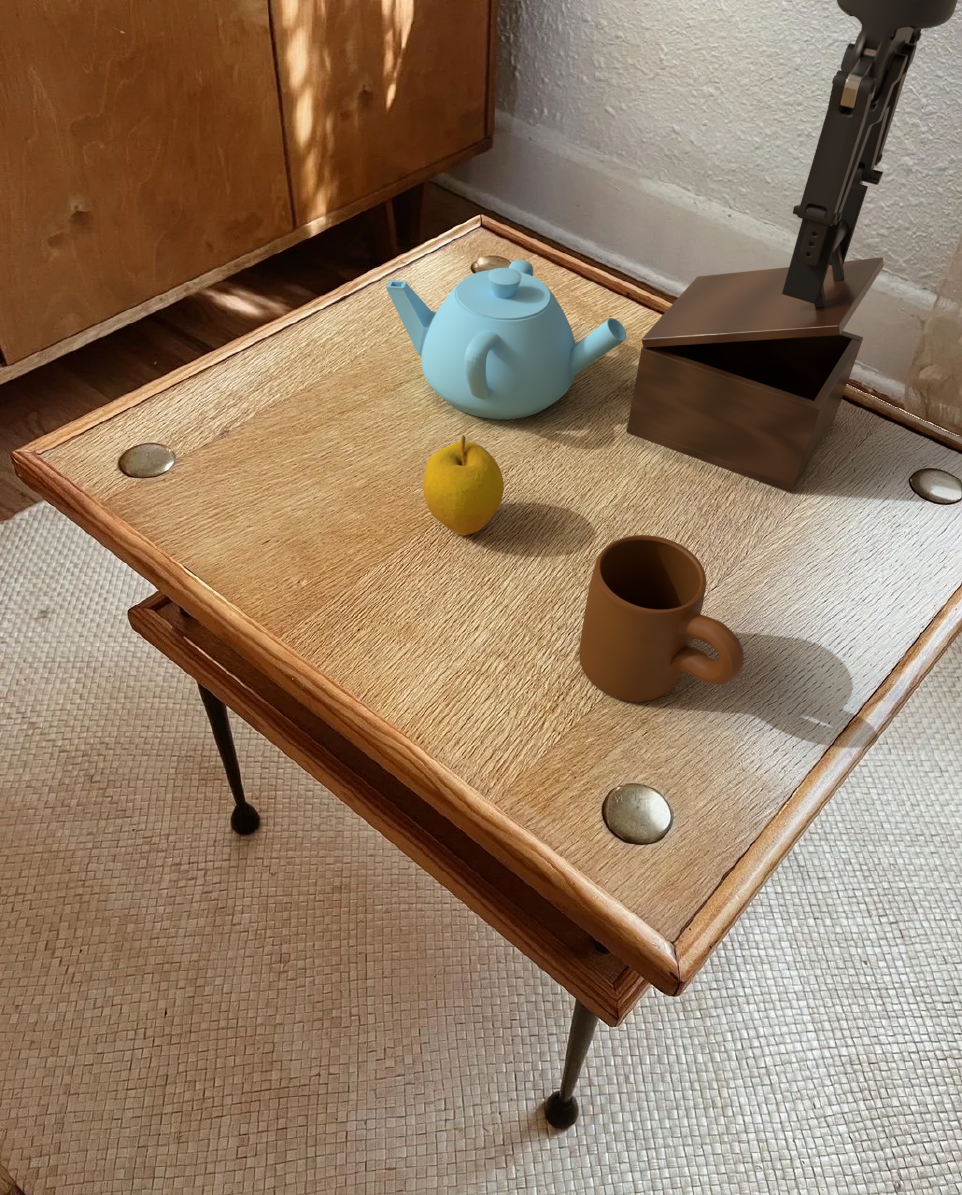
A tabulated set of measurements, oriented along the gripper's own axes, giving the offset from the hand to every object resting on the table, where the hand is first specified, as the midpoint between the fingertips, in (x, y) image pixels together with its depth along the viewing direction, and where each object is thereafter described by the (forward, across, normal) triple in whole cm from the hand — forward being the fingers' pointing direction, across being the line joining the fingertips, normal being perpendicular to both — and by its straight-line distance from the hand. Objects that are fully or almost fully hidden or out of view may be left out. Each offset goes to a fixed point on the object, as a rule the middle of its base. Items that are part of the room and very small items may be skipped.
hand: (813, 278), depth 82 cm
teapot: (+16, +6, -24) cm, 30 cm away
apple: (+16, +25, -17) cm, 34 cm away
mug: (+16, +32, +3) cm, 36 cm away
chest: (+16, 0, -3) cm, 16 cm away
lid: (+4, 0, -3) cm, 5 cm away
